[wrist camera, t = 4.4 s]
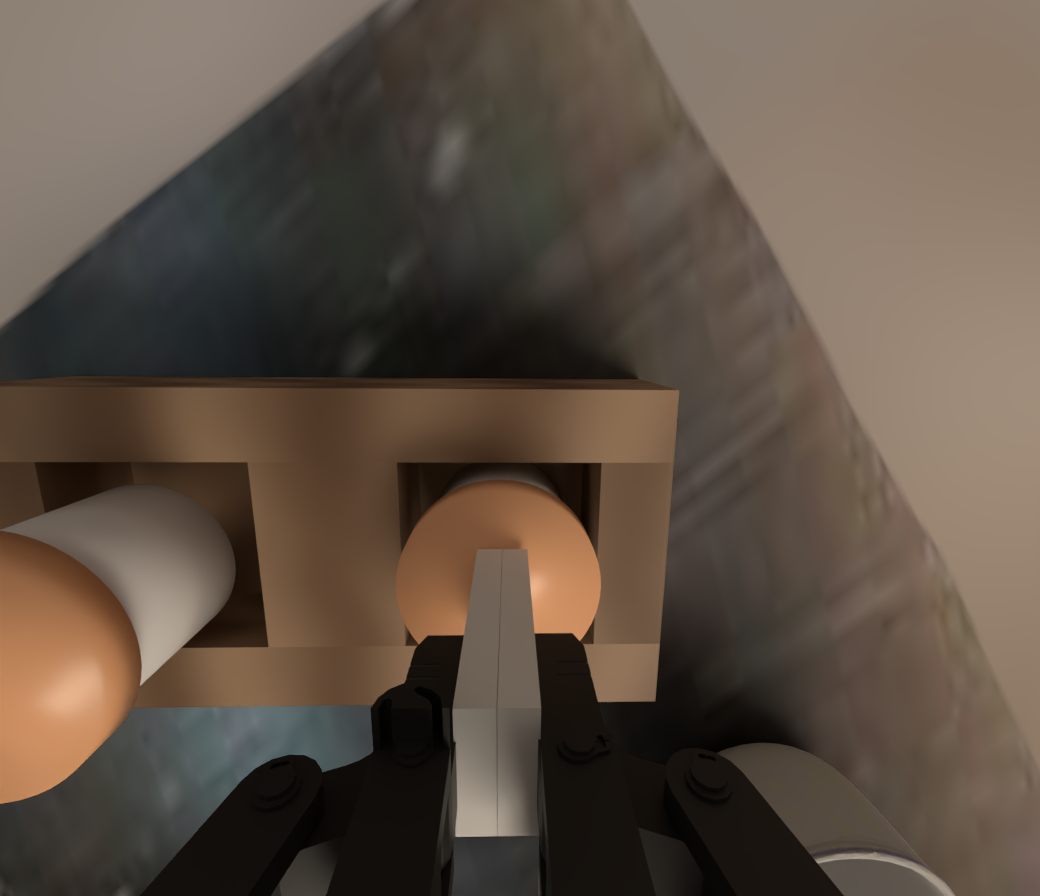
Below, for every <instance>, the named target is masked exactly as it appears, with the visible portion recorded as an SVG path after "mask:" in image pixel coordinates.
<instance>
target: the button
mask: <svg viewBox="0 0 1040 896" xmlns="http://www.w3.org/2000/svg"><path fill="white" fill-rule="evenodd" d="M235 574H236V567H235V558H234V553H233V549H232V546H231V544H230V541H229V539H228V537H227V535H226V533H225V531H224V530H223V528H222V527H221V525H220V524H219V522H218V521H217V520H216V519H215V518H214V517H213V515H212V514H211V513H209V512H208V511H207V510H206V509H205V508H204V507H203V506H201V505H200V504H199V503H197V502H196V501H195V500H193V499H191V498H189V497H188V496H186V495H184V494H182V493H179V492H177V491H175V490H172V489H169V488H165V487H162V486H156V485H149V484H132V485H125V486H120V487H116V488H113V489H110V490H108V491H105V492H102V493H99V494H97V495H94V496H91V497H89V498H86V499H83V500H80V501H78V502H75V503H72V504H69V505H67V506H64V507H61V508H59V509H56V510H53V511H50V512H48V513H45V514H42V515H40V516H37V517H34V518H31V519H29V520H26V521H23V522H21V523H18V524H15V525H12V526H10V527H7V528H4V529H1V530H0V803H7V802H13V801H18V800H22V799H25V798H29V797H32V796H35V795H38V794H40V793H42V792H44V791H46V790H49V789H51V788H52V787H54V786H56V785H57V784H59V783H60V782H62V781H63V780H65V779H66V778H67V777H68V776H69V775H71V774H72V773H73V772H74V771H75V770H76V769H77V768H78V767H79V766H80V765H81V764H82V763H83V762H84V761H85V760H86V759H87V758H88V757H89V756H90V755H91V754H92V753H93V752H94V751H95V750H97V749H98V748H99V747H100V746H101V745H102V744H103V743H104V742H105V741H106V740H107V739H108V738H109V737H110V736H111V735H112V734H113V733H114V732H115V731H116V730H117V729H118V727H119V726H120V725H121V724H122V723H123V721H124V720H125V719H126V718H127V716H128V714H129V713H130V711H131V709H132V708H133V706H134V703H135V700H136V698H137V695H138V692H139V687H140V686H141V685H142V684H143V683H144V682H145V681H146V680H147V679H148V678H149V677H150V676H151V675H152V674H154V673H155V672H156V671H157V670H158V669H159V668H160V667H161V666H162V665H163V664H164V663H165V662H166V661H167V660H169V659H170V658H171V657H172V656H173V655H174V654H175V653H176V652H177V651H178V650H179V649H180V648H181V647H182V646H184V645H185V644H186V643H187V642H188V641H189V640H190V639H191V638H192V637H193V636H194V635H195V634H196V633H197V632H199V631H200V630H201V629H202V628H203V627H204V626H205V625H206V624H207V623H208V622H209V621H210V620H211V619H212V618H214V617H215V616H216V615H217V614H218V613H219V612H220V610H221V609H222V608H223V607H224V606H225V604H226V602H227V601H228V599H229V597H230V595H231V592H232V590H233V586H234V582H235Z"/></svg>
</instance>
